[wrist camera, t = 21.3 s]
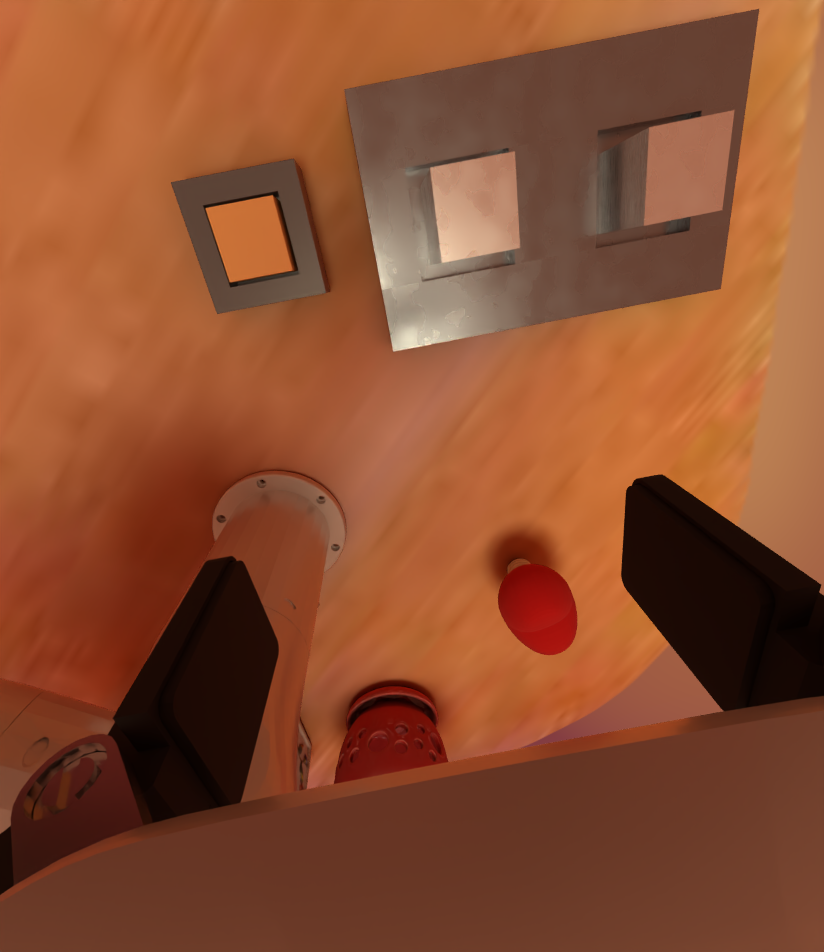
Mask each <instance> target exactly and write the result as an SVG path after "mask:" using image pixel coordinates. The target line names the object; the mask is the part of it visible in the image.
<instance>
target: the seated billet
mask: <svg viewBox="0 0 824 952" xmlns="http://www.w3.org/2000/svg"><path fill="white" fill-rule="evenodd" d="M420 190H421V197H422V205H423V212H424V219H425V227H426V234H427V241H428V249H429V256H430V263H431V265H433V264H439V263H445V262H450V261H455V260H460V259H466V258H471V257H476V256H481V255H486V254H491V253H497V252H502V251H507V250H512V249H517V248H520V238H519V219H518V200H517V181H516V162H515V151H513V152H508V153H503V154H498V155H493V156H488V157H482V158H477V159H472V160H467V161H462V162H457V163H451V164H446V165H441V166H436V167H431V168H430V169H429V170H428V172H427V174H426V176H425V178H424V180H423V182H422V184H421V186H420Z"/></svg>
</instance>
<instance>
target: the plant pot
mask: <svg viewBox="0 0 824 952" xmlns="http://www.w3.org/2000/svg"><path fill="white" fill-rule="evenodd" d="M437 724H438V713H437V710H436V708H435V706H434V704H433V703H432V701H431V700H430V699H429V698H428V697H427V696H425V695H424V694H422V693H421V692H419V691H416V690H414V689H411V688H407V687H400V686H390V687H383V688H379V689H375V690H372V691H370V692H368V693H366V694H364V695H363V696H361V697H360V698H359V699H358V700H357V701H356V702H355V703H354V704H353V705H352V707H351V708H350V710H349V712H348V715H347V719H346V726H347V730H348V733H347V735H346V737H345V740H344V742H343V745H342V748H341V751H340V755H339V760H338V764H337V767H336V774H335V781H334V784H337V783H342V782H347V781H352V780H358V779H363V778H368V777H373V776H378V775H383V774H388V773H394V772H399V771H404V770H409V769H414V768H420V767H425V766H430V765H436V764H441V763H446V762H448V760H447V756H446V752H445V748H444V745H443V742H442V740H441V737H440V735H439V733H438V731H437V729H436V727H437Z"/></svg>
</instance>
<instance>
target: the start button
mask: <svg viewBox="0 0 824 952" xmlns="http://www.w3.org/2000/svg"><path fill="white" fill-rule="evenodd" d="M205 209H206V212H207V215H208V218H209V221H210V224H211V227H212V230H213V233H214V236H215V239H216V242H217V245H218V248H219V251H220V254H221V257H222V260H223V263H224V266H225V269H226V272H227V275H228V278H229V281H230V282H242V281H247V280H252V279H257V278H262V277H268V276H273V275H278V274H283V273H288V272H294V271H298V267H297V263H296V259H295V255H294V252H293V248H292V244H291V240H290V236H289V232H288V229H287V225H286V221H285V217H284V213H283V210H282V206H281V202H280V201H279V200H278V199H277V198H275V197H274V196H273V195H271V196H266V197H261V198H256V199H250V200H245V201H240V202H235V203H230V204H224V205H219V206H214V207H209V208H205Z"/></svg>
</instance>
